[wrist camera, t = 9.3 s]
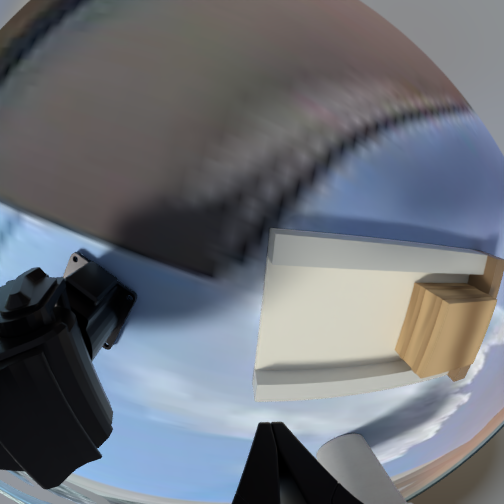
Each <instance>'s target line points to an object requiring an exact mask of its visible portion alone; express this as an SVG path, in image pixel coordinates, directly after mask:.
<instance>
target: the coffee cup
mask: <svg viewBox="0 0 504 504" xmlns="http://www.w3.org/2000/svg"><path fill="white" fill-rule="evenodd" d="M317 461H318V462H319V463H320V464H321V465H322V466H323V467H324V468H325V469H326V470H327V471H328V472H329V473H330V474H331V475H332V476H333V477H334V478H335V479H336V480H337V481H338V483H340V484H341V485H342V486H343V487H344V488H345V489H346V490H348V491H349V492H350V493H351V494H352V495H353V496H354V497H356V498H357V499H358V500H360V501H361V502H362V503H364V504H412V503H407V502H406V501H405V499H404V498H403V496H402V495H401V494H400V492H399V491H398V489H397V488H396V486H395V485H394V483H393V482H392V480H391V479H390V477H389V476H388V474H387V473H386V471H385V470H384V468H383V467H382V465H381V464H380V462H379V461H378V459H377V458H376V456H375V454H374V453H373V451H372V450H371V448H370V447H369V445H368V444H367V442H366V441H365V439H364V438H363V436H362V435H360V434H346V435H342V436H339V437H337V438H334V439H332V440H330V441H329V442H327V443H326V444H324V445H323V446H322V447H321V448H320V449H319V450H318V452H317Z"/></svg>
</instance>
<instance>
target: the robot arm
mask: <svg viewBox="0 0 504 504" xmlns="http://www.w3.org/2000/svg"><path fill="white" fill-rule="evenodd" d="M75 256H76V257H77V258H78V261H77V260H76V259H75ZM128 295H130V296H131V297H132V298H133V299H129V297H128ZM136 299H137V295H136V293H135V292H134V291H132V290H131V289H129V288H128V287H126V286H125V285H123V284H122V283H120V282H119V281H118V280H117V278H116V277H114V276H113V275H112V274H110V273H109V272H107V271H106V270H105V269H103V268H102V267H100V266H99V265H98V264H96V263H95V262H94V261H90V260H88V259H87V258H86V257H84V256H83V255H82V254H81V253H79V252H75V253H73V254H72V255H71V257H70V259H69V262H68V265H67V267H66V270H65V273H64V276H63V277H57V278H52V277H49V275H46V274H45V273H44V272H43V270H42V269H41V268H40V267H37V268H32V269H30V270H28V271H26V272H24V273H23V274H21V275H20V276H18V277H17V278H16V280H10V281H8V282H6V285H4V286H2V287H0V469H1V470H12V471H25V472H26V473H27V474H28V475H29V476H30V477H31V478H32V479H33V480H34V481H36V482H37V483H38V484H39V485H40V486H41V487H42V488H43V489H50V488H54V487H57V486H59V485H60V484H61V483H62V482H63V481H64V480H65V479H66V478H67V477H68V476H69V475H70V474H71V473H72V472H74V471H75V470H76V469H77V468H79V467H81V466H83V465H84V464H86V463H88V462H92V461H95V460H98V459H101V458H102V455H101V453H100V452H99V451H98V449H97V448H99V447H100V446H101V445H102V444H103V443H104V442H105V441H106V440H107V439H108V438H109V436H110V434H111V432H112V430H113V428H112V426H111V424H112V417H113V411H112V408H111V405H110V402H109V400H108V398H107V396H106V394H105V392H104V389H103V387H102V385H101V383H100V380H99V378H98V376H97V373H96V371H95V369H94V366H93V364H92V361H93V359H94V358H95V356H96V355H97V353H98V352H99V350H100V349H101V348H102V347H103V348H105V349H107V350H109V349H111V347H112V346H113V344H114V342H115V340H116V338H117V336H118V334H119V332H120V330H121V328H122V326H123V324H124V322H125V320H126V318H127V316H128V314H129V313H130V311H131V309H132V307H133V305H134V303H135V301H136ZM105 342H106V343H108V344H109V345H107V344H106V343H105ZM232 504H364V503H362V502H361V501H360V500H358V499H357V498H356V497H354V496H353V495H352V494H351V493H350V492H349V491H348V490H346V489H345V488H344V487H343V486H342V485H341V484H340V483H338V481H337V480H336V479H335V478H334V477H333V476H332V475H331V474H330V473H329V472H328V471H327V470H326V469H325V468H324V467H323V466H322V465H321V464H320V463H319V462H318V461H317V460H316V458H315V457H314V456H313V455H312V454H311V453H310V452H309V451H308V450H307V449H306V448H305V447H304V446H303V445H302V443H301V442H300V441H299V440H298V439H297V438H296V437H295V436H294V435H293V433H292V432H291V431H290V430H289V429H288V428H287V427H286V425H285V424H284V423H283V422H271V424H270V423H269V422H260V423H259V424H258V427H257V430H256V433H255V437H254V440H253V443H252V446H251V449H250V452H249V455H248V458H247V461H246V465H245V468H244V470H243V473H242V476H241V479H240V482H239V485H238V488H237V491H236V494H235V496H234V499H233V501H232Z"/></svg>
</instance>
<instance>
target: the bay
mask: <svg viewBox="0 0 504 504" xmlns="http://www.w3.org/2000/svg"><path fill="white" fill-rule="evenodd" d="M503 271H504V259H502V258H499V257H496V256H494V255H491V254H488V253H486V252H483V251H479V250H471V249H464V248H457V247H449V246H441V245H433V244H425V243H417V242H409V241H400V240H391V239H382V238H373V237H364V236H354V235H344V234H334V233H323V232H312V231H301V230H289V229H277V228H270V231H269V241H268V250H267V260H266V269H265V279H264V288H263V297H262V306H261V315H260V324H259V332H258V341H257V349H256V358H255V366H254V374H253V382H252V384H253V392H254V399H255V402H272V401H297V400H312V399H323V398H333V397H342V396H349V395H357V394H363V393H370V392H376V391H381V390H387V389H392V388H397V387H401V386H406V385H410V384H415V383H419V382H423V381H427V380H431V379H434V378H438V377H441V376H445V375H448V376H449V377H450V378H451V379H452V380H453V381H454V382H455V381H458V380H461V379H463V378H465V376H466V374H467V372H468V369H469V367H470V365H471V364H470V365H467V366H464V367H461V368H458V369H455V370H451V371H448V372H444V373H441V374H437V375H433V376H429V377H425V378H421V379H420V377H419V376H418V375H417V374H415V373H414V372H413V371H412V370H411V367H410V366H409V365H408V364H407V363H406V362H405V361H404V360H402V359H401V358H400V356H399V354H398V353H397V352H396V351H395V347H396V344H397V341H398V338H399V335H400V332H401V329H402V326H403V323H404V319H405V316H406V313H407V309H408V306H409V302H410V298H411V295H412V291H413V287H414V283H467V284H469V285H471V286H474V287H476V289H478V290H480V291H482V292H484V293H486V294H489V295H491V296H492V297H493V298H495V299H496V297H497V294H498V291H499V287H500V283H501V280H502V276H503Z"/></svg>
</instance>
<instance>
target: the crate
mask: <svg viewBox="0 0 504 504" xmlns="http://www.w3.org/2000/svg"><path fill="white" fill-rule="evenodd" d="M496 302H497V299H495V298H493V297H492V296H491V295H489V294H486V293H484V292H482V291H480V290H478V289H476V287H474V286H471V285H469V284H467V283H414V287H413V291H412V295H411V298H410V302H409V306H408V309H407V313H406V316H405V319H404V323H403V326H402V329H401V332H400V335H399V338H398V341H397V344H396V347H395V351H396V352H397V353H398V354H399V356H400V358H401V359H402V360H404V361H405V362H406V363H407V364H408V365H409V366H410V367H411V370H412V371H413V372H414V373H415V374H417V375H418V376H419V377H420V379H421V378H425V377H429V376H433V375H437V374H441V373H444V372H448V371H451V370H455V369H458V368H461V367H464V366H467V365H470V364H473V362H474V360H475V358H476V355H477V353H478V351H479V349H480V346H481V344H482V341H483V339H484V336H485V334H486V331H487V329H488V326H489V323H490V320H491V318H492V315H493V312H494V309H495V306H496Z"/></svg>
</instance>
